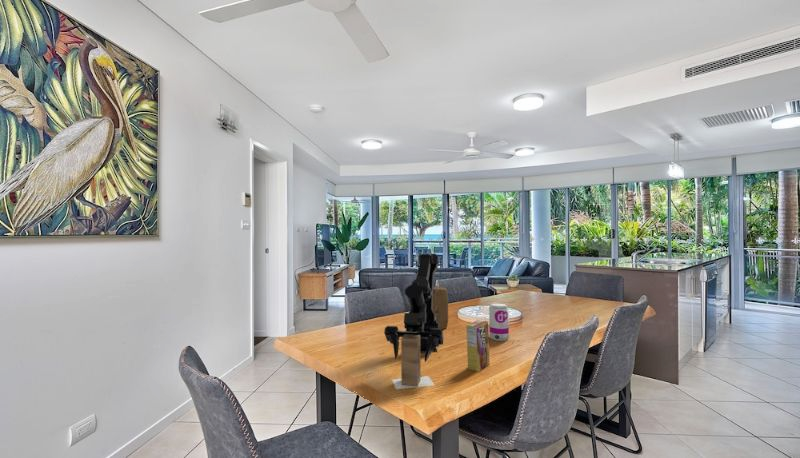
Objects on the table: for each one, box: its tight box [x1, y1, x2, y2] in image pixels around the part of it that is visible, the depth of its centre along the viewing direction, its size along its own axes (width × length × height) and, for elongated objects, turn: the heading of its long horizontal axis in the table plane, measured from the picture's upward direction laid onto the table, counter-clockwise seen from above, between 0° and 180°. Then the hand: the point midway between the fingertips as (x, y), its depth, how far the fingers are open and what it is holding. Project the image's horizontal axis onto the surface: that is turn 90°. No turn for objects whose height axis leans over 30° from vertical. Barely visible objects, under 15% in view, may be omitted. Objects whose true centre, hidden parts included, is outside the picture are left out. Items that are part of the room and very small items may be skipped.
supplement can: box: [488, 302, 510, 342], centre depth 154 cm, size 8×8×15 cm
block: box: [432, 286, 449, 330], centre depth 174 cm, size 11×8×20 cm
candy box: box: [466, 319, 491, 373], centre depth 120 cm, size 9×4×15 cm, turn 140°
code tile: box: [391, 375, 435, 390], centre depth 107 cm, size 12×7×1 cm, turn 102°
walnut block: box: [400, 334, 422, 388], centre depth 107 cm, size 5×5×14 cm
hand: (410, 360), depth 106 cm, fingers open, 9 cm apart
